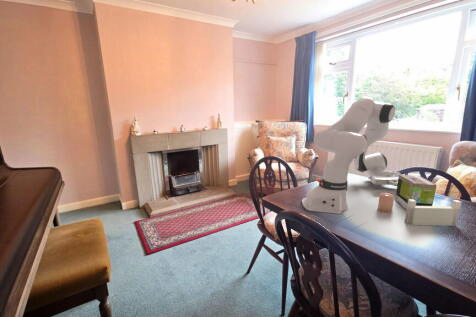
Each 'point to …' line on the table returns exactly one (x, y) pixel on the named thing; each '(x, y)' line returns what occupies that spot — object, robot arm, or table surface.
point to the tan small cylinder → (385, 202)
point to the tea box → (415, 190)
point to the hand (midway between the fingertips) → (397, 185)
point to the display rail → (432, 214)
